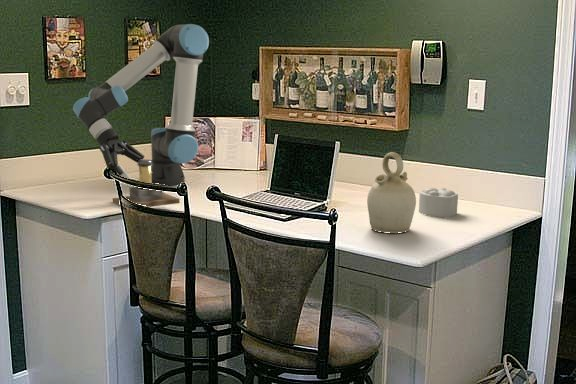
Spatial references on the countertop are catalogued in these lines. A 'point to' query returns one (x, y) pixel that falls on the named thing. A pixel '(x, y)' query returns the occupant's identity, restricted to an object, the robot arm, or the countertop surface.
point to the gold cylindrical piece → (145, 171)
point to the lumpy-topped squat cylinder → (438, 202)
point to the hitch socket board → (149, 197)
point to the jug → (391, 199)
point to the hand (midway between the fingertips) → (139, 178)
